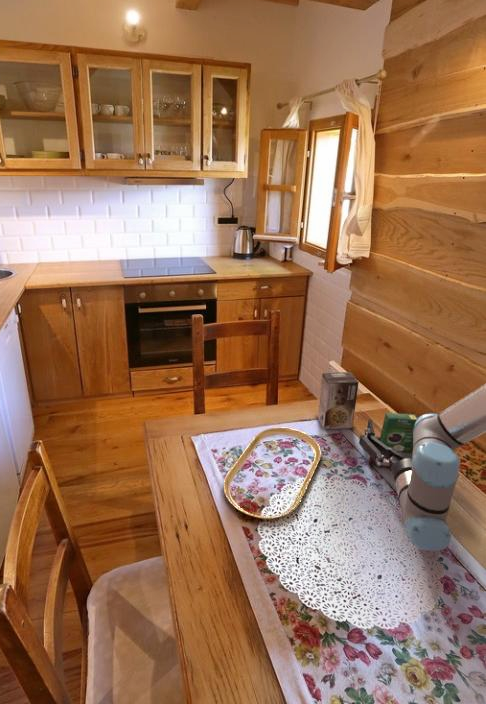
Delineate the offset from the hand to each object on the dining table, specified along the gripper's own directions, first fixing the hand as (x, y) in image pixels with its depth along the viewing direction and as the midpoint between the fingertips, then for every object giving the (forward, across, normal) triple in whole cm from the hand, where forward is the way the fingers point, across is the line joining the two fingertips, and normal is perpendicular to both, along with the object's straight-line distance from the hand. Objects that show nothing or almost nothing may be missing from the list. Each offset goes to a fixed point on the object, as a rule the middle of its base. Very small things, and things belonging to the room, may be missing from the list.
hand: (395, 427), depth 110 cm
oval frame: (-15, -31, -8) cm, 35 cm away
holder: (-3, 0, -8) cm, 9 cm away
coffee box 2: (-3, 0, -8) cm, 8 cm away
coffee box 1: (+10, -15, -8) cm, 19 cm away
